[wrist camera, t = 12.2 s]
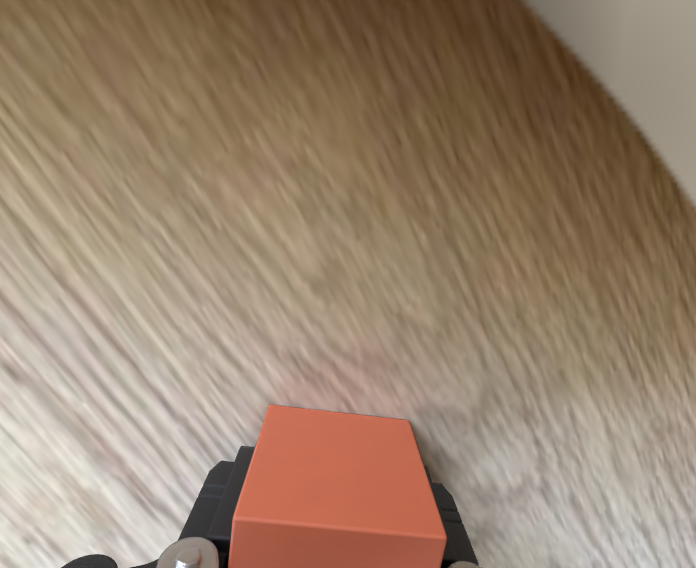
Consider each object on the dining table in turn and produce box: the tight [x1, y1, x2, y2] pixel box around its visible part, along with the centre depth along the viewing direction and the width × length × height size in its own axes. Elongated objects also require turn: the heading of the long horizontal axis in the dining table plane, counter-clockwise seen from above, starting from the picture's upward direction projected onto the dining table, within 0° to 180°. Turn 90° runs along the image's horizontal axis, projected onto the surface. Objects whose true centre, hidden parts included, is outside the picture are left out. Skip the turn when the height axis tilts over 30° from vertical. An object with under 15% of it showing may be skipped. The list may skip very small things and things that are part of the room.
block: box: [228, 405, 447, 568], centre depth 11 cm, size 5×5×5 cm
